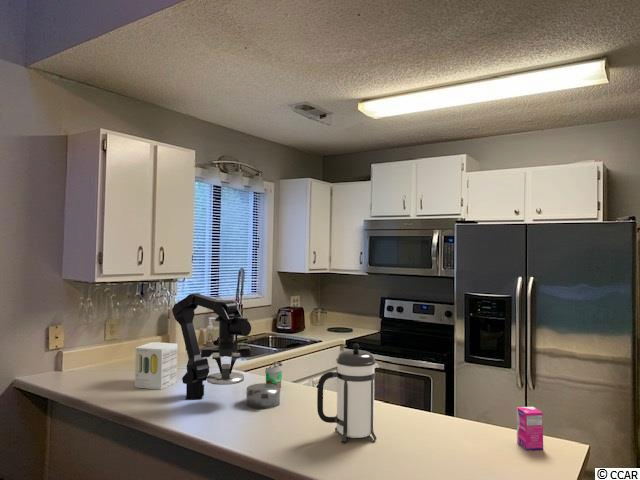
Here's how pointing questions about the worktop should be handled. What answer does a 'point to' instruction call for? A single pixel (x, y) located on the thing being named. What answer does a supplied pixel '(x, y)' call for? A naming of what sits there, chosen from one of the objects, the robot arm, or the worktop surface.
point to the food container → (274, 374)
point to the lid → (225, 377)
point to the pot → (263, 396)
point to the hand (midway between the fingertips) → (225, 374)
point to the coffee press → (352, 394)
